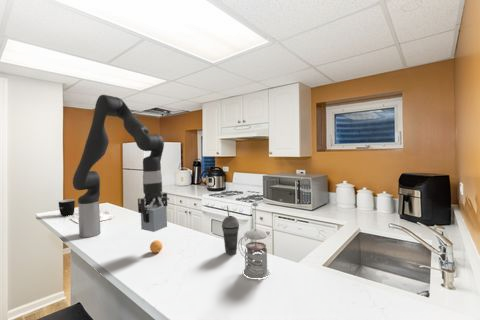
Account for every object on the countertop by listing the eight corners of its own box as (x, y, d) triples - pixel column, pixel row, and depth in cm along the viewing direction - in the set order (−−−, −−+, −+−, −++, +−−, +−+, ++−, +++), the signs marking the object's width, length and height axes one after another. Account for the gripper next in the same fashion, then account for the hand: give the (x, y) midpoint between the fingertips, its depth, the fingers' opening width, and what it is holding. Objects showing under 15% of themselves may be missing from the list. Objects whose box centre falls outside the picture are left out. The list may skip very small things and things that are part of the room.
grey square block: (141, 229, 101) (140, 208, 101) (154, 224, 108) (154, 204, 107) (153, 231, 98) (153, 210, 97) (167, 226, 104) (166, 206, 104)
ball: (155, 256, 100) (146, 251, 102) (164, 251, 105) (155, 247, 107) (156, 245, 99) (148, 241, 101) (165, 241, 104) (157, 236, 106)
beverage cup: (237, 257, 97) (236, 208, 96) (220, 256, 98) (219, 207, 97) (241, 249, 104) (240, 204, 103) (224, 248, 105) (223, 203, 104)
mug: (57, 215, 164) (56, 201, 164) (72, 212, 172) (71, 198, 171) (64, 218, 157) (63, 203, 157) (79, 215, 165) (78, 200, 164)
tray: (81, 227, 141) (80, 220, 141) (67, 220, 159) (66, 214, 159) (117, 218, 157) (116, 213, 157) (100, 213, 175) (100, 208, 175)
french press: (262, 283, 78) (261, 207, 77) (232, 274, 84) (231, 203, 83) (274, 270, 86) (274, 201, 85) (246, 262, 92) (245, 197, 91)
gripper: (158, 179, 110) (160, 214, 111) (132, 183, 97) (133, 223, 98) (171, 179, 106) (172, 216, 107) (145, 184, 94) (146, 226, 95)
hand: (154, 219), depth 103 cm, fingers closed on grey square block, 7 cm apart
